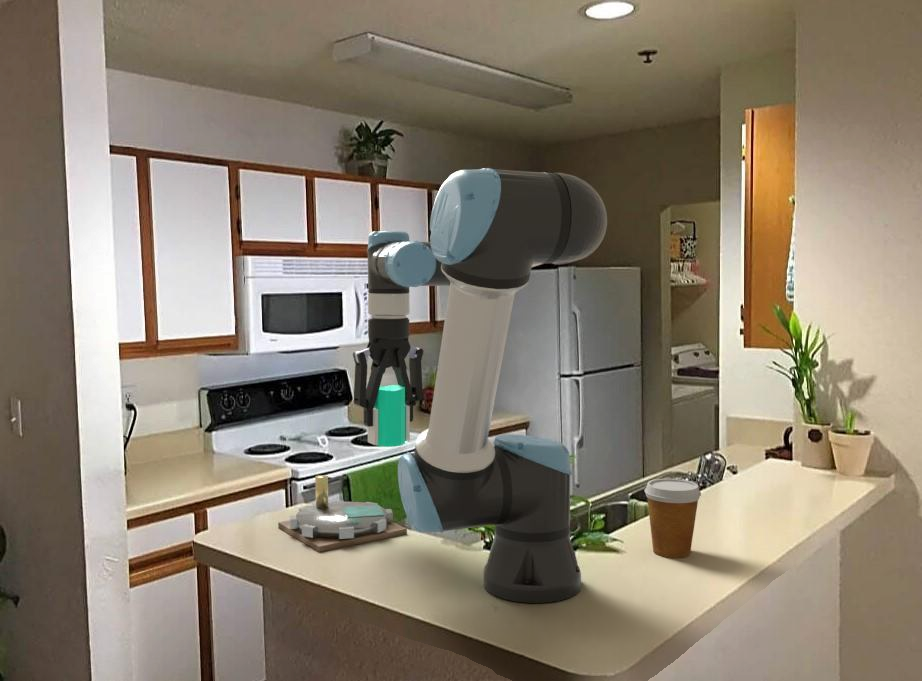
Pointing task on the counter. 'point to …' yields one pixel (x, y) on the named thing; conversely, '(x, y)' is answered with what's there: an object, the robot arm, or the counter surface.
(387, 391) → the candle
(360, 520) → the turntable
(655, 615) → the counter surface
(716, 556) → the counter surface
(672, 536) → the disposable coffee cup
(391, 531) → the base board
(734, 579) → the counter surface
